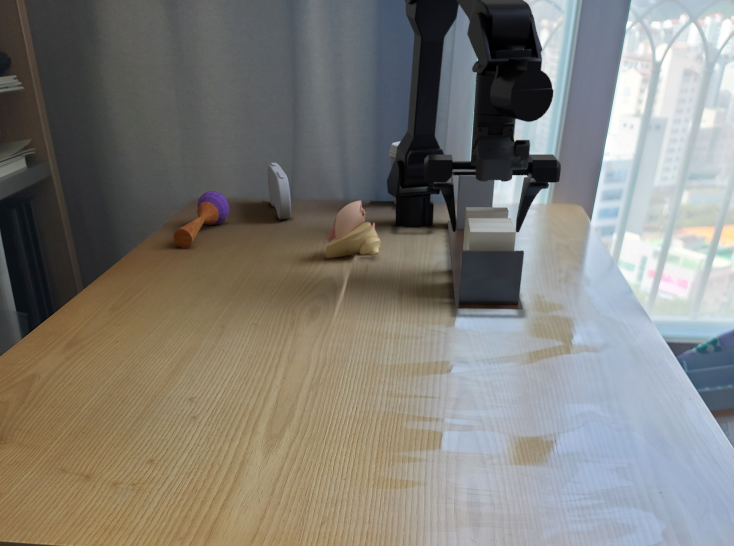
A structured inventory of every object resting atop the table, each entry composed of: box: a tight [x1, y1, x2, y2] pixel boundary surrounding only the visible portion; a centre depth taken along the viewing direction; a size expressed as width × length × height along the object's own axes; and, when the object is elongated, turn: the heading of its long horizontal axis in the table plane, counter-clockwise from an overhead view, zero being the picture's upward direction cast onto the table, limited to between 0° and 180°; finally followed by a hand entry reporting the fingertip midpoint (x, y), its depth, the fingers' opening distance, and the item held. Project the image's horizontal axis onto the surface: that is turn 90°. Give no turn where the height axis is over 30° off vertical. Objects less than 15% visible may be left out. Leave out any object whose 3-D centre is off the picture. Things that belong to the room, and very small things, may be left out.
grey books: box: [456, 175, 496, 229], centre depth 134 cm, size 6×5×9 cm
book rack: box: [447, 220, 525, 310], centre depth 118 cm, size 9×48×8 cm, turn 176°
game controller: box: [267, 162, 292, 220], centre depth 149 cm, size 20×2×8 cm, turn 13°
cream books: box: [466, 217, 517, 251], centre depth 103 cm, size 6×7×9 cm
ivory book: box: [463, 206, 509, 250], centre depth 111 cm, size 6×2×9 cm, turn 86°
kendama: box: [172, 190, 230, 249], centre depth 137 cm, size 6×6×20 cm
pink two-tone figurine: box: [325, 199, 382, 259], centre depth 122 cm, size 9×10×10 cm
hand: (485, 231), depth 110 cm, fingers open, 9 cm apart
